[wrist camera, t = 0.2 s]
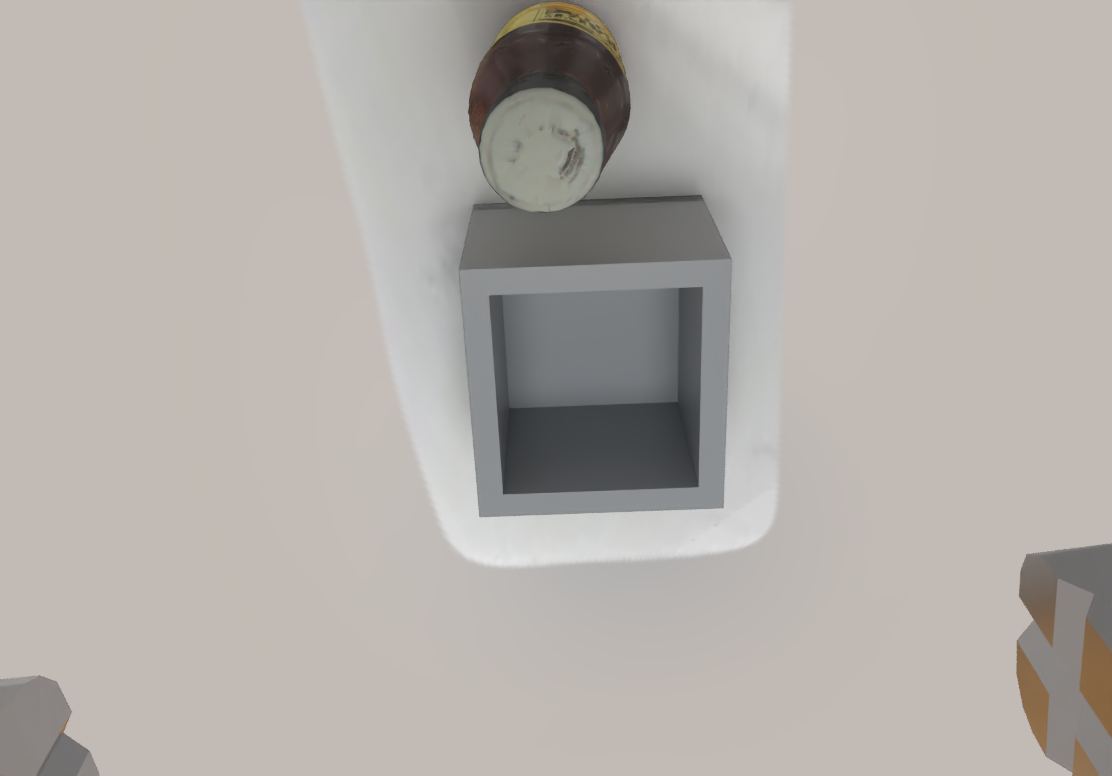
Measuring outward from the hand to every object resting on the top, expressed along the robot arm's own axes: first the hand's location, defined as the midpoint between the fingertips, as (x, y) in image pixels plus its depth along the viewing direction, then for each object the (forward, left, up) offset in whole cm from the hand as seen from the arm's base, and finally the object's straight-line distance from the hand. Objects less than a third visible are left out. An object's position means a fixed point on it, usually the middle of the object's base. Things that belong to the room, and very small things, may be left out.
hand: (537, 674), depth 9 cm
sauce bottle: (+2, 0, -46) cm, 46 cm away
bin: (+15, +2, -46) cm, 48 cm away
